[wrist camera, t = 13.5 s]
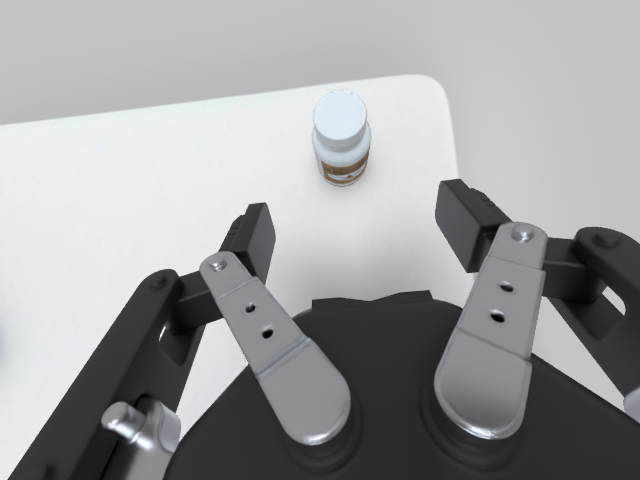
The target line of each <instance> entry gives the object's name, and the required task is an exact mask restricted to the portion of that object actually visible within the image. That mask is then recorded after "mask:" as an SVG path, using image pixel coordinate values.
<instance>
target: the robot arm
mask: <svg viewBox="0 0 640 480" xmlns="http://www.w3.org/2000/svg"><path fill="white" fill-rule="evenodd" d="M435 218H436V222H437V225H438V226H439V228H440V230H441V231H442V233H443V234H444V236H445V238H446V239H447V241H448V243H449V244H450V246H451V248H452V249H453V251H454V253H455V254H456V256H457V258H458V259H459V261H460V262H461V264H462V266H463V267H464V269H465V271H466V272H467V273H474V272H479V273H478V276H477V278H476V280H475V283H474V285H473V287H472V290H471V292H470V294H469V297H468V299H467V301H466V304H465V306H464V308H463V309H462V308H461V307H458V306H456V305H454V304H451V303H448V302H445V301H440V300H435V299H433V298H432V296H431V293H430V291H429V290H426V291H413V292H401V293H397V294H393V295H390V296H387V297H383V298H380V299H377V300H373V301H364V300H356V299H348V298H328V299H316V300H312V309H309V310H306V311H304V312H302V313H300V314H298V315H296V316H294V317H293V318H292V319H291V317H290V316H289V315H288V314H287V313H286V311H285V310H284V309H283V308H282V306H281V305H280V304H279V303H278V302H277V300H276V299H275V298H274V297H273V295H272V294H271V293H270V292H269V291H268V289H267V288H266V287H265V283H266V278H267V274H268V270H269V266H270V262H271V257H272V253H273V249H274V245H275V240H276V236H275V229H274V226H273V223H272V219H271V216H270V213H269V209H268V206H267V204H266V203H265V202H264V203H255V204H249V206H248V208H247V210H246V213H245V215H240V216H239V217H238V218H237V219H236V220H235V221H234V222H233V223H232V225H231V227H230V230H229V231H228V233H227V236H226V237H225V239H224V241H223V243H222V245H221V247H220V249H219V251H218V253H215V254H213V255H211V256H209V257H208V258H206V259H205V260H204V261H203V262H202V264H201V265H200V268H199V271H196V272H194V273H190V274H187V275H184V276H181V277H179V276H178V274H177V273H176V271H174V270H172V269H164V270H160V271H157V272H155V273H153V274H151V275H150V276H148V277H147V278H145V279H144V280H143V281H142V282H141V283H140V285H139V286H138V288H137V289H136V290H135V292H134V293H133V295H132V296H131V298H130V299H129V301H128V302H127V304H126V305H125V307H124V308H123V310H122V311H121V313H120V314H119V316H118V317H117V319H116V320H115V321H114V323H113V324H112V326H111V327H110V329H109V330H108V332H107V333H106V335H105V336H104V338H103V339H102V341H101V342H100V344H99V345H98V347H97V348H96V350H95V351H94V353H93V354H92V355H91V357H90V358H89V360H88V361H87V363H86V364H85V366H84V367H83V369H82V370H81V372H80V373H79V375H78V376H77V378H76V379H75V381H74V382H73V384H72V385H71V387H70V388H69V389H68V391H67V392H66V394H65V395H64V397H63V398H62V400H61V401H60V403H59V404H58V406H57V407H56V409H55V410H54V412H53V413H52V415H51V416H50V418H49V419H48V421H47V422H46V423H45V425H44V426H43V428H42V429H41V431H40V432H39V434H38V435H37V437H36V438H35V440H34V441H33V443H32V444H31V446H30V447H29V449H28V450H27V452H26V453H25V455H24V456H23V457H22V459H21V460H20V462H19V463H18V465H17V466H16V468H15V469H14V471H13V472H12V474H11V475H10V477H9V478H8V480H640V244H639V243H638V242H636V241H635V240H633V239H632V238H631V237H629V236H627V235H625V234H623V233H621V232H618V231H615V230H612V229H607V228H602V227H586V228H582V229H580V230H579V231H578V232H577V234H576V235H575V237H574V239H561V238H549V237H548V236H547V234H546V233H545V232H544V231H543V230H542V229H541V228H539V227H537V226H534V225H531V224H528V223H524V222H513V221H512V220H511V219H510V218H509V217H507V216H506V215H505V214H504V213H503V212H502V211H501V210H500V209H499V208H498V207H497V206H495V204H494V203H493V202H492V201H490V199H489V198H488V197H487V196H486V195H485V194H484V193H482V192H480V191H478V190H475V189H474V188H471V189H470V188H469V187H468V186H467V185H466V184H465V183H464V182H463V181H462V180H461V179H453V180H445V181H441V182H440V185H439V190H438V196H437V203H436V210H435ZM607 286H609V287H610V288H611V289H612V290H613V291H614V292H615V293H616V294H617V295H618V296H619V297H620V298H621V299H622V300H623V302H624V304H625V308H626V312H625V315H624V316H623V314H622V313H621V312H619V310H618V309H617V308H615V306H614V305H613V304H611V302H610V301H609V300H608V299H606V297H605V296H604V295H603V294H602V292H603V291H604V290H605V288H606V287H607ZM542 296H544V297H547V298H548V299H549V301H550V302H551V303H552V304H553V306H554V307H555V308H556V310H557V311H558V312H559V314H560V315H561V316H562V317H563V319H564V320H565V321H566V322H567V324H568V325H569V327H570V328H571V329H572V330H573V332H574V333H575V334H576V336H577V337H578V338H579V340H580V341H581V342H582V343H583V345H584V346H585V347H586V349H587V350H588V351H589V353H590V354H591V355H592V356H593V358H594V359H595V360H596V362H597V363H598V364H599V365H600V367H601V368H602V369H603V371H604V372H605V373H606V375H607V376H608V377H609V378H610V380H611V381H612V382H613V384H614V385H615V386H616V387H617V389H618V390H619V391H620V393H621V394H622V395H623V397H624V401H623V406H624V410H625V412H626V413H625V412H623V411H622V410H620V409H618V408H617V407H615V406H613V405H612V404H610V403H609V402H608V401H606V400H605V399H603V398H601V397H600V396H598V395H597V394H595V393H593V392H592V391H591V390H589V389H587V388H586V387H584V386H583V385H581V384H580V383H578V382H577V381H575V380H574V379H572V378H570V377H569V376H567V375H566V374H564V373H563V372H561V371H560V370H558V369H556V368H555V367H553V366H552V365H550V364H549V363H547V362H545V361H544V360H543V359H541V358H539V357H538V356H536V355H535V354H533V353H532V352H531V351H532V345H533V340H534V335H535V329H536V324H537V318H538V313H539V308H540V302H541V297H542ZM221 318H225V320H226V322H227V324H228V326H229V328H230V329H231V331H232V333H233V335H234V337H235V339H236V341H237V342H238V344H239V346H240V348H241V350H242V352H243V354H244V355H245V357H246V359H247V361H248V363H249V364H248V365H247V366H246V367H245V368H244V370H243V371H242V372H241V373H240V374H239V375H238V376H237V377H236V378H235V380H234V381H233V382H232V383H231V384H230V385H229V386H228V387H227V388H226V390H225V391H224V392H223V393H222V394H221V395H220V396H219V397H218V398H217V400H216V401H215V402H214V403H213V404H212V405H211V406H210V407H209V408H208V409H207V411H206V412H205V413H204V414H203V415H202V416H201V417H200V418H199V419H198V421H197V422H196V423H195V424H194V425H193V426H192V427H191V428H190V430H189V431H188V432H187V433H186V434H185V436H184V437H183V438H182V440H181V441H180V443H179V437H180V432H181V422H180V419H179V417H178V416H177V415H176V414H175V413H176V410H177V407H178V405H179V402H180V399H181V396H182V393H183V390H184V387H185V384H186V381H187V378H188V376H189V373H190V370H191V367H192V364H193V361H194V358H195V355H196V352H197V350H198V347H199V344H200V341H201V338H202V335H203V332H204V329H205V326H206V324H207V323H210V322H213V321H216V320H219V319H221ZM164 326H165V327H166V329H165V331H164V333H163V335H162V337H161V339H160V341H159V338H160V334H161V332H162V329H163V327H164Z"/></svg>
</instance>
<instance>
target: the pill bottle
mask: <svg viewBox="0 0 640 480" xmlns="http://www.w3.org/2000/svg"><path fill="white" fill-rule="evenodd" d="M313 121H314V128H313V131H312V144H313V148H314V152H315V155H316V159H317V163H318V167H319V170H320V172H321V174H322V176H323V177H324V178H325V179H326V180H327V181H328V182H330V183H331V184H334V185H338V186H346V185H350V184H352V183H354V182H356V181H357V180H358V179H359V178H360V177H361V176H362V175H363V173H364V171H365V169H366V165H367V160H368V155H369V149H370V143H371V129H370V126H369V124H368V122H367V111H366V107H365V104H364V102H363V101H362V99H361V98H360V97H359V96H358V95H356V94H355V93H353V92H350V91H346V90H337V91H333V92H330V93H328V94H326V95H325V96H324V97H322V98H321V99H320V100H319V102H318V103H317V105H316V107H315V109H314V113H313Z"/></svg>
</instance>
